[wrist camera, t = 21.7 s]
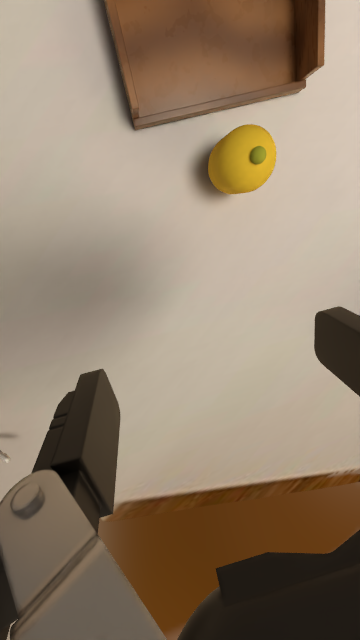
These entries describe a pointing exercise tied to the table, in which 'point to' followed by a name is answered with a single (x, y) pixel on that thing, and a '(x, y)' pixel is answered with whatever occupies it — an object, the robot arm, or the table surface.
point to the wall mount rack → (4, 457)
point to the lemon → (242, 160)
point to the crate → (212, 53)
